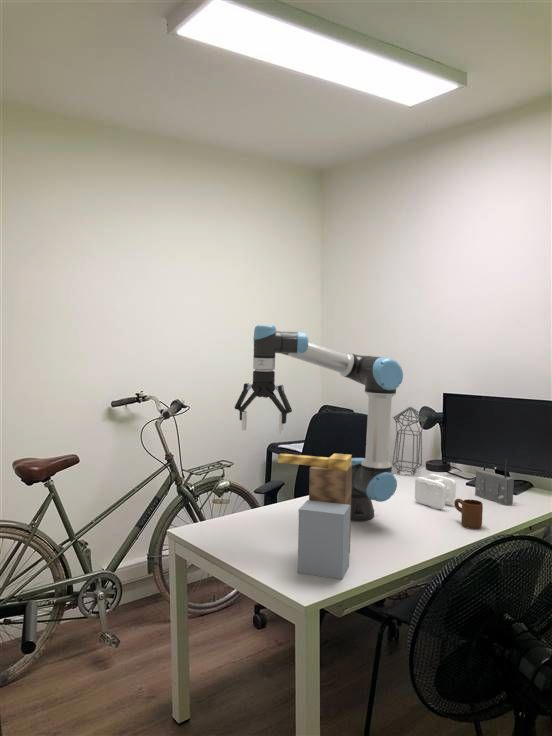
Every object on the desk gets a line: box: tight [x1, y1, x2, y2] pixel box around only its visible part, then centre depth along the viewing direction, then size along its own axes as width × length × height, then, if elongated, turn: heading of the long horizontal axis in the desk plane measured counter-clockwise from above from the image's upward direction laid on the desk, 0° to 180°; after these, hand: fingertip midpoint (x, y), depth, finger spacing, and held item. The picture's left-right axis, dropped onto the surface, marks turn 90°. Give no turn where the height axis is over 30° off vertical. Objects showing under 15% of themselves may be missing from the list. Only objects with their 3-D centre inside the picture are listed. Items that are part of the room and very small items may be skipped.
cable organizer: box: [414, 473, 457, 510], centre depth 250 cm, size 15×11×12 cm
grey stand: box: [297, 499, 351, 580], centre depth 181 cm, size 14×10×20 cm
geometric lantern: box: [391, 406, 428, 476], centre depth 302 cm, size 16×16×35 cm
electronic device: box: [474, 458, 515, 506], centre depth 257 cm, size 17×7×20 cm, turn 32°
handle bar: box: [277, 453, 353, 471], centre depth 193 cm, size 24×8×4 cm, turn 72°
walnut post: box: [308, 465, 352, 554], centre depth 192 cm, size 12×10×30 cm
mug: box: [453, 498, 484, 530], centre depth 225 cm, size 12×8×9 cm, turn 34°
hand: (262, 431), depth 201 cm, fingers open, 13 cm apart
